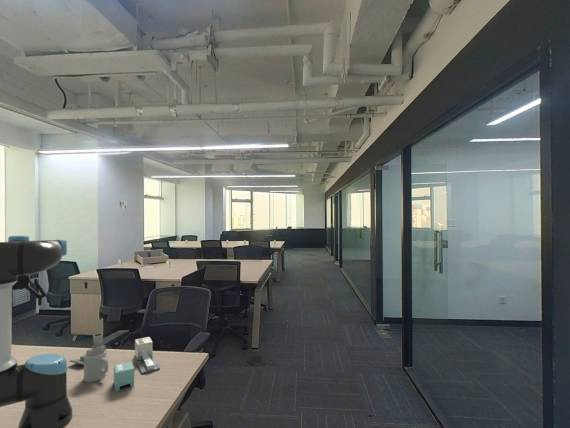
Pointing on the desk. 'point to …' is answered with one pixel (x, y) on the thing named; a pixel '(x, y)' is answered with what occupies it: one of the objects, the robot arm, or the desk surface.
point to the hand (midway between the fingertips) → (18, 315)
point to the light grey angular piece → (145, 355)
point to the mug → (95, 365)
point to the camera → (97, 345)
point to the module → (123, 375)
